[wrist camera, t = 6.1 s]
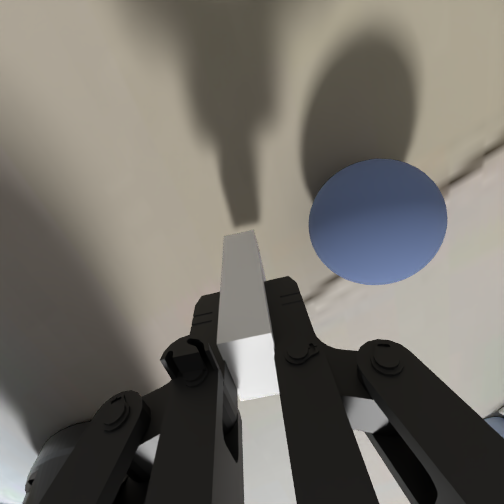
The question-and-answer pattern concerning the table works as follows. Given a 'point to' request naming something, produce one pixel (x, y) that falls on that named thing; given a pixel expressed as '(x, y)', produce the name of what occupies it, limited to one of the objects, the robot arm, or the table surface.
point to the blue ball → (378, 221)
